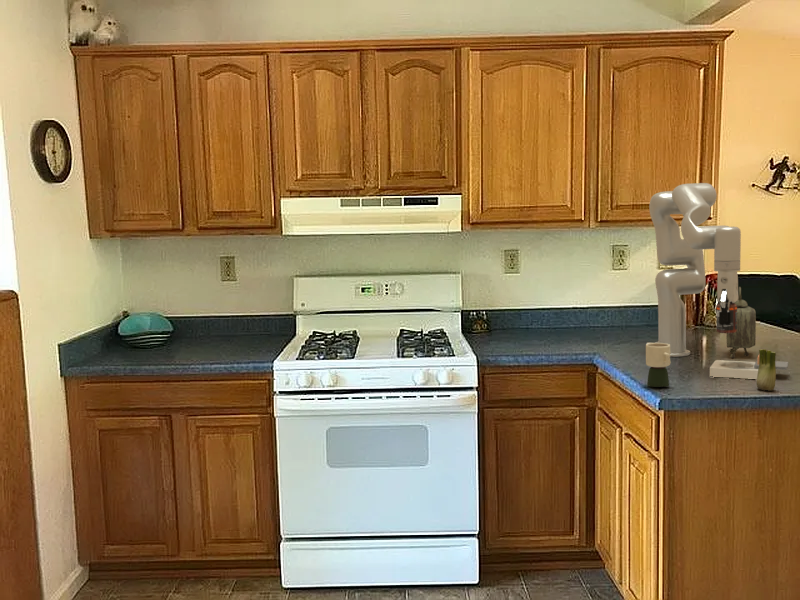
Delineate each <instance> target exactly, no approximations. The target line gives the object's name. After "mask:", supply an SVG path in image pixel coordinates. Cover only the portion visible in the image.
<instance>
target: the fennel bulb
mask: <svg viewBox="0 0 800 600" xmlns="http://www.w3.org/2000/svg"><path fill="white" fill-rule="evenodd" d="M758 352H759V353H758V355H759V369H758V375H757V380H756V387H757V388H758V389H759V390H760V391H761V390H762V391H765V390H768V391H774V390H775V387H776V379H777V376H776V375H777V374H776V373H777V369H776V366H775V361H776V358H777V357H776V356H777V354H776V353H777V352H775V351H772V350H769V349H768V350H767V349H762V348H761V349H758Z"/></svg>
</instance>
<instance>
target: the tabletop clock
mask: <svg viewBox="0 0 800 600" xmlns="http://www.w3.org/2000/svg"><path fill="white" fill-rule="evenodd" d="M735 304H736V305H737V331H736V332H735V333H726V347H727V348H730V349H729V353H730V356H729V357H730V359H735V358H736V352H737V351H738V349H742V348H743V350H744V352H743V353H744V356H745V357H749V355H750V353H749V352H748V351H747V349H750V348H753V347H755V346H756V344H757V343H756V342H757V341H756V338H757V336H756V334H757V333H756V331H757V329H756V328H757V325H756V324H757V321H756V319H757V316H756V314H757V313H756V310H755V308H753V307H751V306H749V305H748V302H747V301H746V300H744V299H742V287H741V286H738V300H737V301H736V302H735Z"/></svg>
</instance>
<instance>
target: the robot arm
mask: <svg viewBox="0 0 800 600" xmlns="http://www.w3.org/2000/svg"><path fill="white" fill-rule="evenodd" d="M716 201H717V191H716V189H715V187H714V186H713V185H712V184H711V183H709V182H708V183H707V182H699V183H697V182H696V183H682V184H679V185H677V186H675V187H674V189H673V190H666V191H660V192H657V193H655V194H653V195H652V196H651V198H650V200H649V206H648V208H649V214H650V215H649V216H650V218H651V221H652V223H653V227H654V232H655V233H654V234H655V243H656V255H657V260H658V262H659V264H661V265H662V266H669V267H670V266H686V267H687V268H669V269H664V270H663V269H662V270H661V271H659V272H657V273H656V276H655V279H654V281H655V289H656V294H657V313H658V314H657V315H658V317H657V318H658V323H657V324H658V325H657V326H658V327H657V328H658V329H657V330H658V340H657V341H656V342H655V343H665V344H670V352H671V353H670V358H671V357H672V358H673V357H677V358H678V357H686V356H690V355H691V351H690V349H687V345H686V344H687V343H686V342H687V341H686V339H687V337H686V336H687V335H686V334H687V333H686V328H687V326H686V325H687V324H686V323H687V322H686V319H687V317H686V315H687V314H686V311H687V310H686V305H685V303H684V301H683V300H682V299H681V297H680V296H682V295H696V294H700V293H702V292H703V291H704V290H705V288H706V270H705V269H706V267H705V259H704V257H705V256H704V250H714V254H713V255H714V257H713V259H714V261H713V262H714V263H713V271H714V272H717V282H716V283H717V288H716V289H717V291H716V292H717V293H716V295H717V297H716V298H717V302H718V304H719V303H720V312H719V324H720V325H730V324H731V312H730V302H732V303H735V302H736V301H737V300H738V295H739V277H738V275H739V274H738V272H740V271H741V245H742V244H741V243H742V242H741V237H742V234H741V233H742V232H741V229H740V228H739V227H738V226H729V225H703V226H702V224H703V223H705V221H707V220H708V218H710V215H711V212H712V210H711V207H713V205H715V203H716ZM672 215H682V216H683V218H682V220H681V223H680V226H679V224H678V222H677V220H675V219H674V218H673V217H672ZM699 225H701V226H699ZM680 230H681V231H680ZM681 236H682V238H681ZM720 298H721V299H720ZM726 301H728V302H726ZM650 343H653V342H646V344H650Z"/></svg>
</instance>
